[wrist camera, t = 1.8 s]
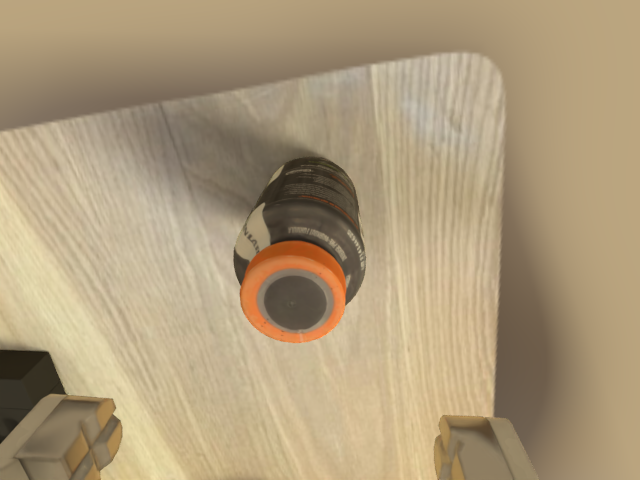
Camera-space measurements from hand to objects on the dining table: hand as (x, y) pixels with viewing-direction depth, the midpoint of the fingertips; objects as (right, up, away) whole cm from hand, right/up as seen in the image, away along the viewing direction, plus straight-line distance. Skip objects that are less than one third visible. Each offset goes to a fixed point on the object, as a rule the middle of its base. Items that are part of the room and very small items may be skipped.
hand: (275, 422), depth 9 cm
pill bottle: (+1, +7, +15) cm, 16 cm away
